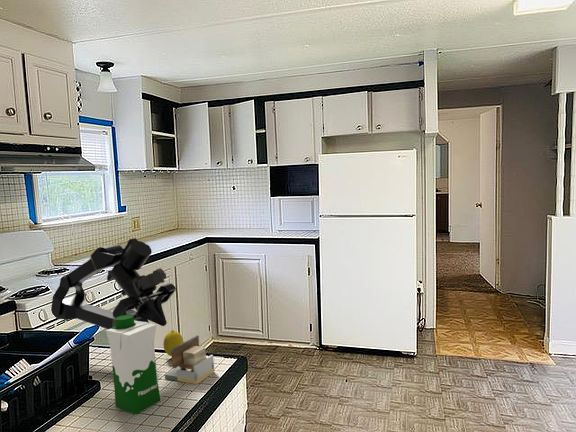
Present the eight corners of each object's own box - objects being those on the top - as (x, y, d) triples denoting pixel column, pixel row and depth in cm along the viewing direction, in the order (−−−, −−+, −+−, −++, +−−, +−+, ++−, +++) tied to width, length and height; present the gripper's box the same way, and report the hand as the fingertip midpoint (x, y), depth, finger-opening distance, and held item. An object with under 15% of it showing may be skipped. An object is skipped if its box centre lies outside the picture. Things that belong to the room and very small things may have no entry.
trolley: (173, 378, 112) (170, 348, 111) (198, 362, 120) (196, 335, 120) (190, 381, 109) (187, 351, 109) (214, 365, 118) (212, 337, 117)
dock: (165, 378, 115) (163, 361, 114) (184, 366, 121) (182, 350, 121) (196, 384, 110) (195, 366, 110) (214, 371, 117) (213, 355, 116)
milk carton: (140, 391, 108) (133, 310, 106) (167, 399, 103) (160, 314, 101) (109, 408, 100) (100, 321, 99) (136, 418, 96) (127, 326, 94)
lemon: (181, 361, 125) (179, 333, 125) (162, 361, 125) (159, 334, 125) (186, 353, 131) (184, 326, 130) (167, 354, 131) (165, 327, 130)
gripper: (116, 268, 110) (154, 316, 106) (168, 254, 127) (202, 295, 123) (97, 297, 115) (132, 344, 111) (149, 280, 131) (182, 321, 127)
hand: (165, 324), depth 118 cm, fingers closed
